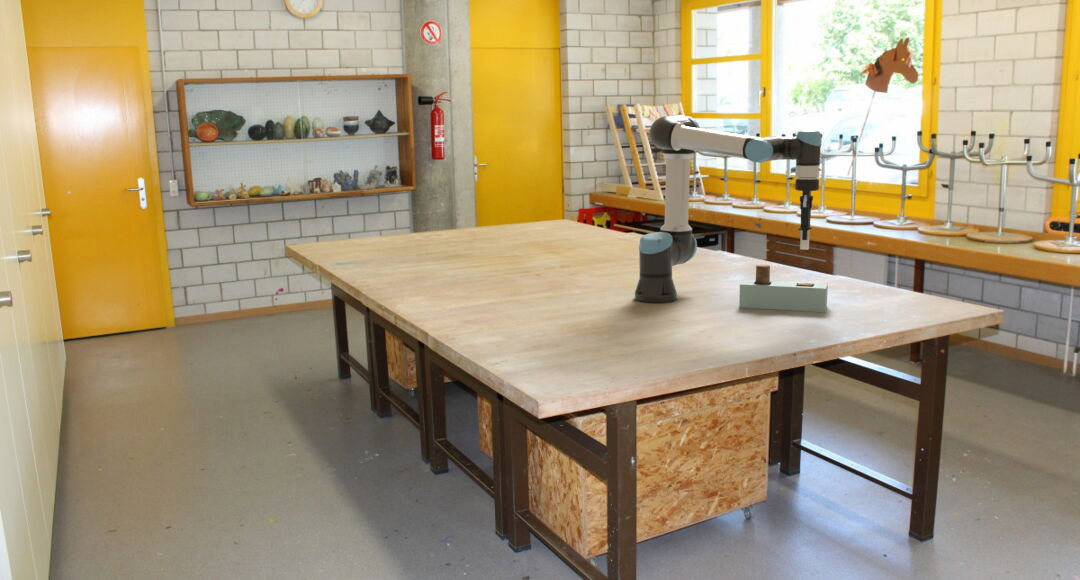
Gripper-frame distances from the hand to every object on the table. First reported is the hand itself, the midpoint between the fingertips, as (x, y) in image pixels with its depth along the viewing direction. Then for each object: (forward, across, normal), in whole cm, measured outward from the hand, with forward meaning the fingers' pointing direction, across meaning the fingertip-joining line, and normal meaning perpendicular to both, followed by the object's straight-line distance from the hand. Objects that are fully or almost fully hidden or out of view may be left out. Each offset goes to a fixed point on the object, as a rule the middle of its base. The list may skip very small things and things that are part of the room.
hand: (804, 249), depth 298 cm
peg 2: (+20, 0, -1) cm, 20 cm away
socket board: (+20, 0, +6) cm, 21 cm away
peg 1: (+14, 0, +13) cm, 19 cm away
